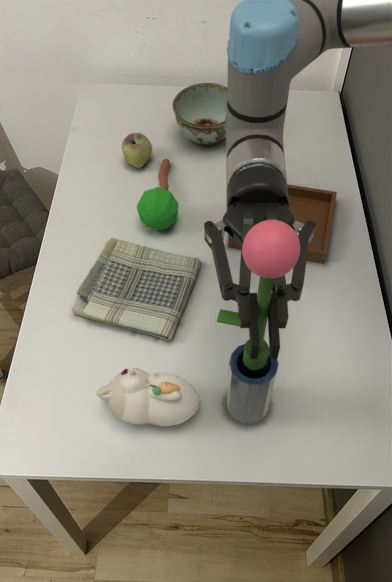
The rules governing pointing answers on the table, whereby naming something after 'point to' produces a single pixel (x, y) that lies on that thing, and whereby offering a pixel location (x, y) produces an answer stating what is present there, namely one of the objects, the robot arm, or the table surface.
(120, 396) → the cat figurine
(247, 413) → the vase
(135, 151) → the apple
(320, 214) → the tray
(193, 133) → the bowl
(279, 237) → the flower
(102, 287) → the dish towel
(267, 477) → the table surface
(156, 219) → the tree
